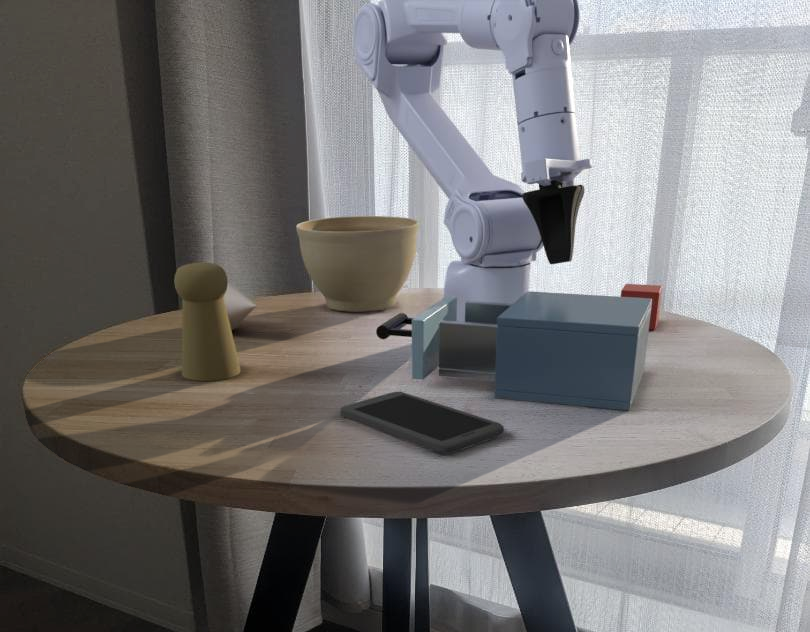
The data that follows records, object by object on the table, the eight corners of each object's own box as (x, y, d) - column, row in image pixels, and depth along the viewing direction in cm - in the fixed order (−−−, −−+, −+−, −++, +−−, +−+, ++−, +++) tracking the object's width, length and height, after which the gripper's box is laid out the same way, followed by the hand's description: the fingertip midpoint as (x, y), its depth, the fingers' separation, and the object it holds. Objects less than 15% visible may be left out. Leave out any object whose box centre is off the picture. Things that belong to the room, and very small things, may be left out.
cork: (250, 367, 92) (241, 260, 88) (222, 383, 87) (210, 270, 82) (201, 362, 94) (188, 257, 89) (170, 378, 89) (155, 267, 84)
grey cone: (259, 344, 100) (201, 341, 112) (289, 304, 102) (228, 305, 113) (222, 307, 97) (165, 308, 108) (253, 266, 98) (194, 271, 109)
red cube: (617, 327, 107) (621, 290, 105) (621, 319, 111) (625, 283, 109) (655, 330, 106) (659, 292, 104) (658, 322, 109) (662, 285, 107)
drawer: (367, 374, 86) (365, 316, 84) (404, 347, 96) (404, 293, 93) (527, 389, 82) (530, 328, 79) (550, 358, 91) (554, 302, 89)
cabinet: (494, 397, 82) (497, 317, 79) (522, 363, 93) (526, 291, 90) (629, 411, 79) (639, 326, 75) (643, 373, 89) (652, 298, 86)
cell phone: (397, 397, 82) (397, 389, 82) (508, 434, 73) (508, 425, 73) (336, 415, 78) (336, 406, 78) (446, 456, 69) (446, 447, 68)
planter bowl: (363, 289, 130) (361, 212, 125) (443, 305, 119) (443, 221, 114) (277, 306, 119) (271, 223, 115) (356, 325, 109) (353, 234, 104)
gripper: (572, 98, 78) (587, 255, 81) (598, 122, 91) (610, 257, 94) (497, 116, 81) (514, 267, 84) (533, 137, 94) (546, 267, 97)
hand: (560, 262), depth 89 cm, fingers closed
